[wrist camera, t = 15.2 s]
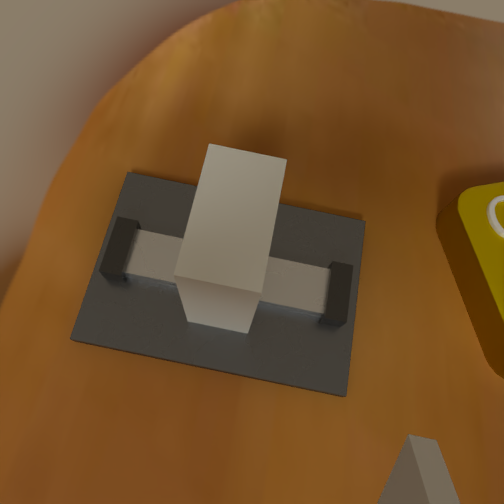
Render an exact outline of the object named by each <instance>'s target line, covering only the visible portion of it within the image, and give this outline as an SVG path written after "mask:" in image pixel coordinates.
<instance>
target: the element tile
mask: <svg viewBox="0 0 504 504" xmlns="http://www.w3.org/2000/svg"><path fill="white" fill-rule="evenodd" d="M436 231H437V234H438V237H439V239H440V242H441V244H442V247H443V250H444V252H445V255H446V257H447V260H448V263H449V265H450V268H451V270H452V273H453V275H454V278H455V281H456V283H457V286H458V288H459V291H460V294H461V296H462V299H463V301H464V304H465V306H466V309H467V312H468V314H469V317H470V319H471V322H472V325H473V327H474V330H475V332H476V335H477V338H478V340H479V343H480V345H481V348H482V350H483V353H484V356H485V358H486V360H487V362H488V364H489V365H490V367H491V368H492V369H493V370H494V372H495V373H496V374H497V375H499V376H500V377H502V378H504V182H498V183H492V184H486V185H480V186H474V187H471V188H468V189H466V190H465V191H463V192H462V193H460V194H459V195H458V196H457V197H456V198H455V199H454V200H453V201H452V202H451V203H450V204H449V205H448V206H447V207H446V208H444V209H443V210H442V211H441V212H440V213H439V215H438V217H437V219H436Z"/></svg>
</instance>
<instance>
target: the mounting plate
mask: <svg viewBox="0 0 504 504" xmlns="http://www.w3.org/2000/svg"><path fill="white" fill-rule="evenodd" d="M197 187H198V186H193V185H189V184H184V183H179V182H174V181H169V180H165V179H160V178H155V177H150V176H145V175H140V174H136V173H131V172H127V175H126V178H125V181H124V184H123V187H122V190H121V192H120V195H119V198H118V201H117V204H116V207H115V210H114V213H113V216H112V218H111V221H110V224H109V227H108V230H107V233H106V236H105V239H104V242H103V244H102V247H101V250H100V253H99V256H98V259H97V262H96V265H95V268H94V270H93V273H92V276H91V279H90V282H89V285H88V288H87V291H86V294H85V296H84V299H83V302H82V305H81V308H80V311H79V314H78V317H77V320H76V322H75V325H74V328H73V331H72V334H71V337H70V339H71V340H73V341H75V342H80V343H85V344H90V345H95V346H99V347H104V348H109V349H114V350H119V351H123V352H128V353H133V354H138V355H143V356H147V357H152V358H157V359H162V360H167V361H171V362H176V363H181V364H186V365H191V366H195V367H200V368H205V369H210V370H215V371H219V372H224V373H229V374H234V375H239V376H243V377H248V378H253V379H258V380H263V381H267V382H272V383H277V384H282V385H287V386H291V387H296V388H301V389H306V390H311V391H315V392H320V393H325V394H330V395H335V396H339V397H346V394H347V385H348V375H349V366H350V357H351V348H352V339H353V330H354V320H355V311H356V302H357V293H358V284H359V275H360V265H361V256H362V247H363V238H364V229H365V221H362V220H358V219H353V218H348V217H343V216H338V215H333V214H329V213H324V212H319V211H314V210H309V209H304V208H300V207H295V206H290V205H285V204H280V203H279V204H278V210H277V215H276V220H275V225H274V231H273V236H272V241H271V246H270V252H269V257H268V262H267V267H266V272H265V278H264V283H263V288H262V293H261V296H260V299H259V302H258V305H257V308H256V311H255V314H254V317H253V320H252V323H251V326H250V329H249V332H248V334H247V333H242V332H237V331H232V330H227V329H223V328H218V327H213V326H208V325H203V324H198V323H193V322H189V321H187V318H186V314H185V311H184V308H183V304H182V301H181V298H180V295H179V291H178V288H177V285H176V281H175V278H174V271H175V268H176V264H177V260H178V257H179V253H180V249H181V246H182V242H183V238H184V234H185V231H186V227H187V223H188V220H189V216H190V212H191V209H192V205H193V201H194V198H195V194H196V190H197Z"/></svg>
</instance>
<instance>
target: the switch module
mask: <svg viewBox="0 0 504 504" xmlns="http://www.w3.org/2000/svg"><path fill="white" fill-rule="evenodd" d="M286 162H287V159H283V158H278V157H273V156H268V155H263V154H258V153H253V152H248V151H244V150H239V149H234V148H229V147H224V146H219V145H214V144H209V146H208V150H207V154H206V157H205V161H204V165H203V168H202V172H201V176H200V179H199V183H198V187H197V190H196V194H195V198H194V201H193V205H192V209H191V212H190V216H189V220H188V223H187V227H186V231H185V234H184V238H183V242H182V246H181V249H180V253H179V257H178V260H177V264H176V268H175V271H174V278H175V281H176V285H177V288H178V291H179V295H180V298H181V301H182V304H183V308H184V311H185V314H186V318H187V321H189V322H193V323H198V324H203V325H208V326H213V327H218V328H223V329H227V330H232V331H237V332H242V333H247V334H248V332H249V329H250V326H251V323H252V320H253V317H254V314H255V311H256V308H257V305H258V302H259V299H260V296H261V293H262V288H263V283H264V278H265V272H266V267H267V262H268V257H269V252H270V246H271V241H272V236H273V231H274V225H275V220H276V215H277V210H278V204H279V199H280V194H281V189H282V183H283V178H284V173H285V168H286Z"/></svg>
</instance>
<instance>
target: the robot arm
mask: <svg viewBox="0 0 504 504" xmlns="http://www.w3.org/2000/svg"><path fill="white" fill-rule="evenodd" d="M378 504H460V502H459V499H458V496H457V494H456V491H455V488H454V486H453V483H452V480H451V478H450V475H449V472H448V470H447V467H446V464H445V462H444V459H443V456H442V454H441V451H440V448H439V446H438V443H437V440H433V439H428V438H424V437H419V436H414V435H410V434H408V436H407V438H406V441H405V443H404V445H403V447H402V450H401V452H400V454H399V456H398V458H397V461H396V463H395V465H394V467H393V470H392V472H391V474H390V476H389V478H388V481H387V483H386V485H385V487H384V490H383V492H382V494H381V496H380V499H379V501H378Z"/></svg>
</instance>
